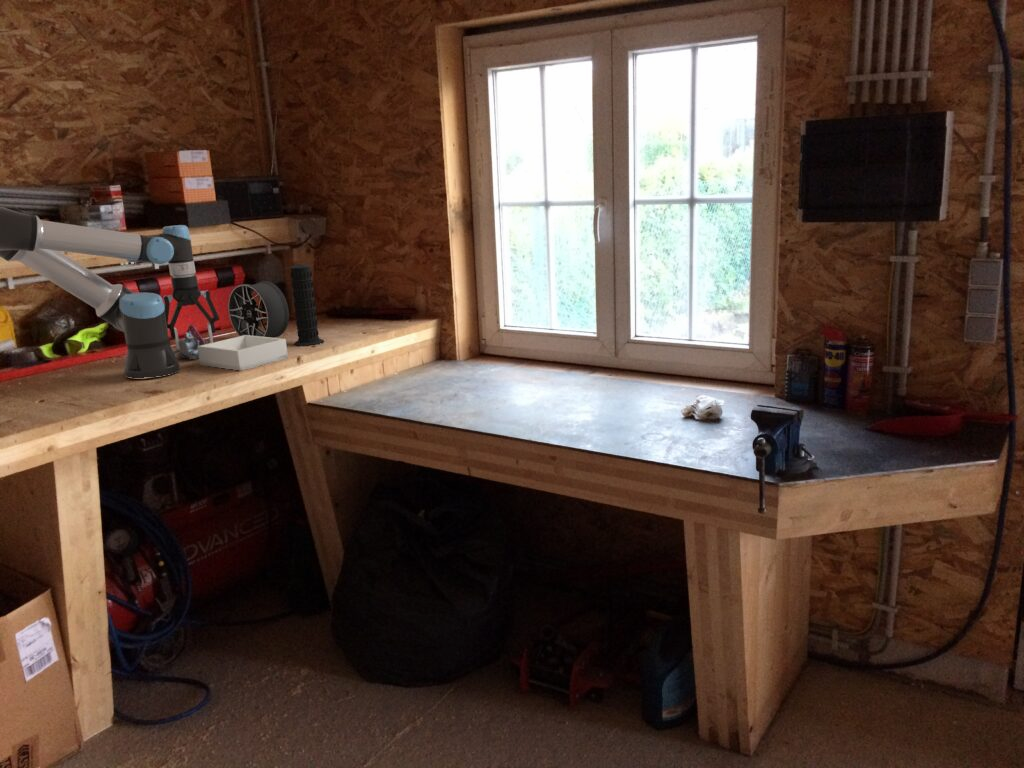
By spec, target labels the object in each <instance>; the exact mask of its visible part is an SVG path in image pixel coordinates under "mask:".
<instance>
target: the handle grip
mask: <svg viewBox="0 0 1024 768" xmlns="http://www.w3.org/2000/svg"><path fill="white" fill-rule="evenodd" d="M289 269H290V278H291V288H292V298H293V301H294V302H293V306H294V311H295V313H294V315H295V320H296V323H295V325H296V327H297V328H296V330H297V337H298V338H297V341H294V343H293V345H294V346H295V345H296V346H295V347H311V346H310V345H313V346H317V345H316V344H318V345H321V344H323V343H322V342H324V343H325V340H324V339H322V338H320V336H319V329H318V328H319V326H318V320H317V318H318V316H317V311H316V308H317V307H316V301H315V299H316V298H315V291H314V282H313V273H312V266H311V265H310V264H309V265H308V264H303V263H299V264H296V265H293V266H290V267H289ZM320 343H321V344H320Z"/></svg>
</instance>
